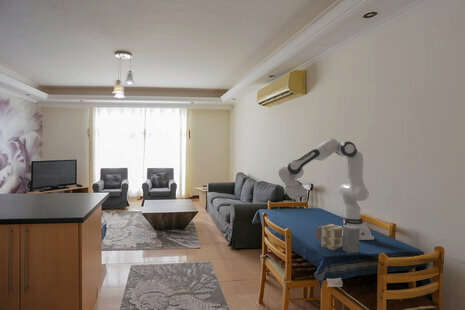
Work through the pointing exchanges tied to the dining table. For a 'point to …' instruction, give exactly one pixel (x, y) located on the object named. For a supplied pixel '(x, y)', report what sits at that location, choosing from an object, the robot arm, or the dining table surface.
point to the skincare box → (351, 239)
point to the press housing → (331, 236)
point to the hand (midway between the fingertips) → (303, 201)
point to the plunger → (319, 232)
